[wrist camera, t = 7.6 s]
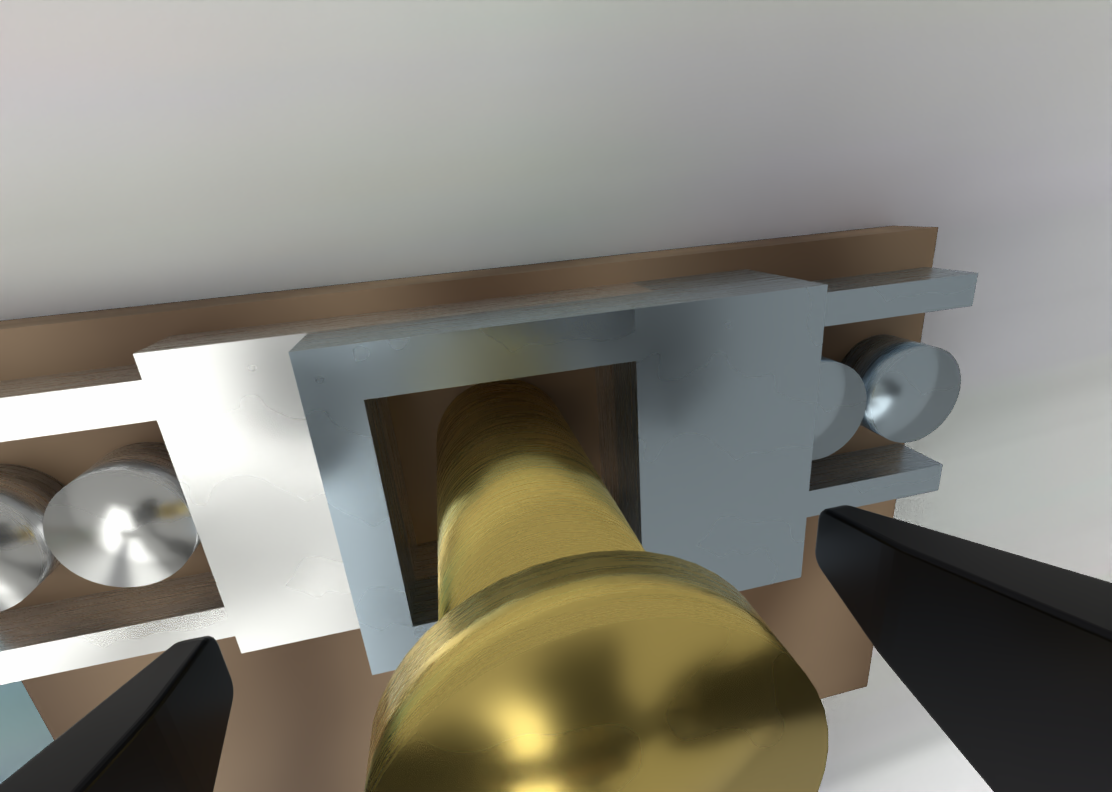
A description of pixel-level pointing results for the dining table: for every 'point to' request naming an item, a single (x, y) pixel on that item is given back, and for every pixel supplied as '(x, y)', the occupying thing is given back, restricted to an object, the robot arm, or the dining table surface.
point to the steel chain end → (198, 498)
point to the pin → (578, 639)
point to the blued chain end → (652, 417)
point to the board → (419, 486)
